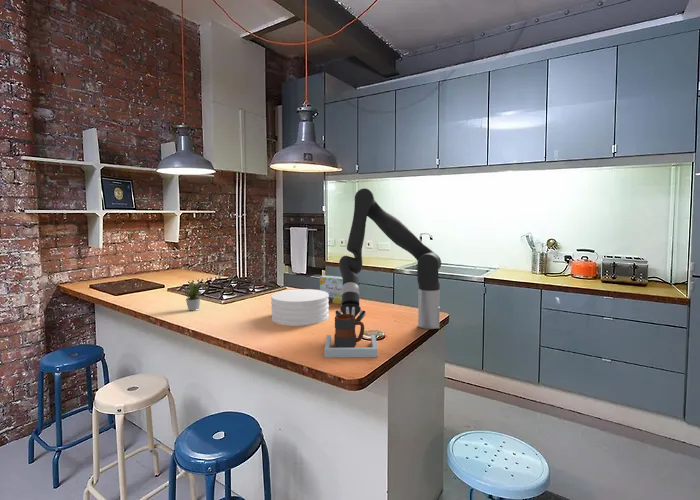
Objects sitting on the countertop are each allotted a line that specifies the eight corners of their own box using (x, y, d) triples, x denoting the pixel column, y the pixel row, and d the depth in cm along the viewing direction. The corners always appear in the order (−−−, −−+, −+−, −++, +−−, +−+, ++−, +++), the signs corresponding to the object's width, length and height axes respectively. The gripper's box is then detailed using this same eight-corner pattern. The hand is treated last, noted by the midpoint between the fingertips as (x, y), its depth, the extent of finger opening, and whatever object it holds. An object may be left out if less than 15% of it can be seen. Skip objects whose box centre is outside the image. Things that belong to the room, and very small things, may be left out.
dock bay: (375, 342, 149) (375, 334, 149) (377, 357, 134) (377, 348, 134) (327, 342, 149) (327, 335, 149) (324, 357, 134) (324, 349, 134)
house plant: (215, 308, 205) (214, 278, 203) (194, 314, 192) (193, 283, 191) (197, 305, 211) (196, 277, 210) (176, 311, 199) (174, 281, 197)
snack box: (319, 302, 218) (319, 276, 217) (324, 300, 223) (324, 275, 222) (351, 306, 208) (351, 279, 207) (356, 303, 213) (356, 277, 212)
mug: (361, 351, 139) (360, 321, 138) (330, 348, 143) (330, 318, 142) (367, 344, 147) (367, 315, 146) (338, 341, 151) (338, 312, 150)
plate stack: (338, 320, 181) (338, 296, 180) (283, 329, 167) (282, 304, 166) (314, 307, 205) (314, 287, 204) (264, 315, 192) (263, 292, 190)
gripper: (334, 290, 158) (333, 328, 147) (366, 290, 158) (367, 328, 147) (335, 300, 163) (334, 336, 153) (365, 300, 163) (366, 336, 152)
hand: (350, 332), depth 150 cm, fingers closed
